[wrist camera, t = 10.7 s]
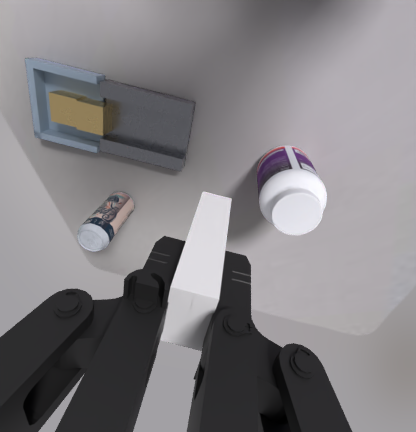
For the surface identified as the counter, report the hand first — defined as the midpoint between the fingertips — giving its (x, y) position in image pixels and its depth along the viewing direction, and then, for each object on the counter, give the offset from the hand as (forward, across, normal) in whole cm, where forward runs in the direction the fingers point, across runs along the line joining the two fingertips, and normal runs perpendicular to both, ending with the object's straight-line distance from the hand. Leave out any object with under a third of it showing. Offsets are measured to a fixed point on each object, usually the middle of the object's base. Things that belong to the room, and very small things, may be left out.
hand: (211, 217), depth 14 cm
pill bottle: (+30, +9, -6) cm, 32 cm away
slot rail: (+29, -12, -5) cm, 32 cm away
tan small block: (+29, -24, -5) cm, 38 cm away
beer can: (+30, -16, -20) cm, 39 cm away
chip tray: (+29, -24, -5) cm, 38 cm away
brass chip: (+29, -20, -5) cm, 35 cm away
